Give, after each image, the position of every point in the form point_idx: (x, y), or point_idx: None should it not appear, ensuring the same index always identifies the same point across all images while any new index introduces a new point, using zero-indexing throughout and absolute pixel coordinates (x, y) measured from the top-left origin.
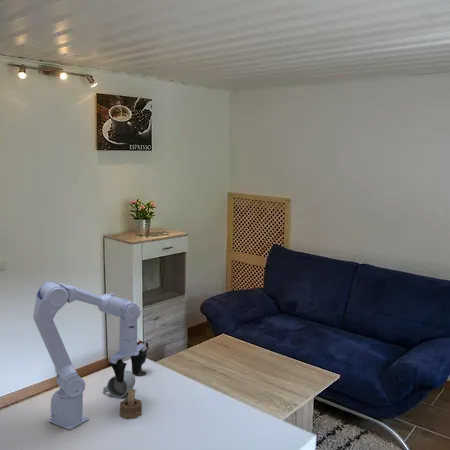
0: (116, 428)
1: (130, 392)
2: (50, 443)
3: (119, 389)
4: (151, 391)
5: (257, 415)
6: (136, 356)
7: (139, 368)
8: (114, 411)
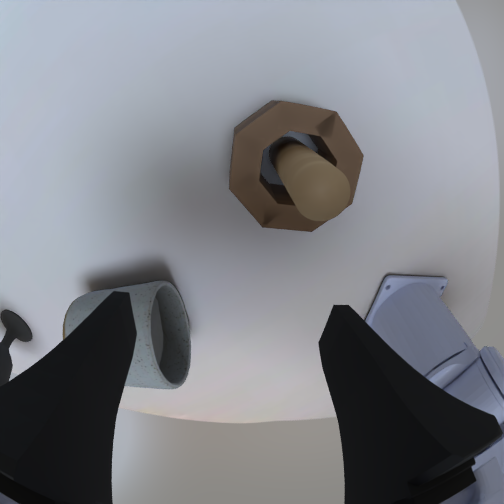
0: (418, 146)
1: (342, 189)
2: (489, 270)
3: (158, 320)
4: (49, 216)
5: None
6: (75, 477)
7: (89, 327)
8: (295, 236)
